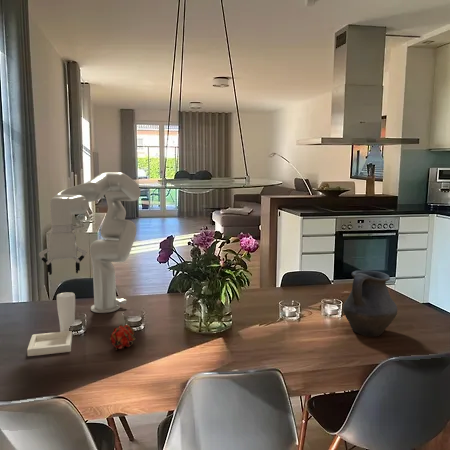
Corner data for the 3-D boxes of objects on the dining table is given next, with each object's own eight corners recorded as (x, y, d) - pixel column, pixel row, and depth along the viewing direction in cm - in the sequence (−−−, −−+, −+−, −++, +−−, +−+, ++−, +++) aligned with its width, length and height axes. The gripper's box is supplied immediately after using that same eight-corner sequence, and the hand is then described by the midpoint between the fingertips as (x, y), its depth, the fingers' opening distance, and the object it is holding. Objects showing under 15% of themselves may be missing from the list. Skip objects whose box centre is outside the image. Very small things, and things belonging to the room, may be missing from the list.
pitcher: (404, 331, 179) (408, 269, 176) (380, 348, 164) (384, 281, 160) (356, 319, 193) (359, 261, 190) (329, 333, 177) (332, 271, 174)
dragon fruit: (131, 343, 171) (120, 362, 160) (112, 330, 171) (100, 348, 159) (142, 328, 169) (132, 345, 157) (123, 315, 168) (112, 331, 157)
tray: (72, 336, 174) (71, 330, 174) (70, 351, 161) (70, 345, 160) (32, 340, 170) (32, 334, 170) (27, 356, 157) (27, 349, 156)
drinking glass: (80, 329, 181) (78, 293, 179) (69, 335, 175) (67, 298, 173) (66, 327, 183) (64, 291, 181) (54, 333, 177) (52, 296, 175)
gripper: (85, 227, 179) (87, 269, 182) (38, 228, 175) (41, 272, 177) (85, 229, 172) (87, 274, 174) (36, 231, 167) (38, 277, 170)
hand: (64, 273), depth 176 cm, fingers open, 9 cm apart
